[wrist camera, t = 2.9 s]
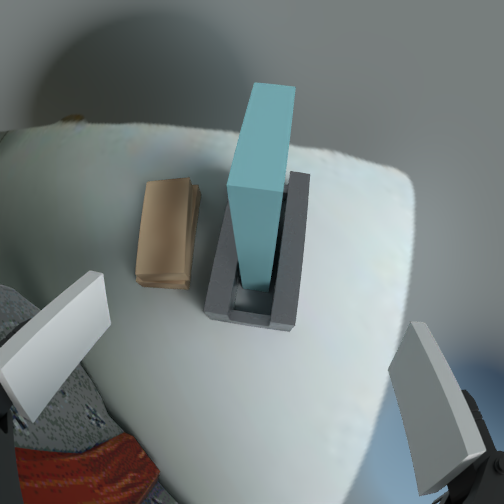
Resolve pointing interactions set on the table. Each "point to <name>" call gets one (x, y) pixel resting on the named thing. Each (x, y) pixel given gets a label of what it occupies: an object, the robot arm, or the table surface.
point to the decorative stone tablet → (76, 441)
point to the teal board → (260, 181)
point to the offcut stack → (167, 234)
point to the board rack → (288, 267)
